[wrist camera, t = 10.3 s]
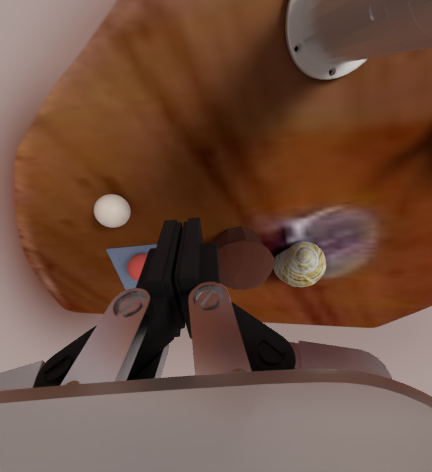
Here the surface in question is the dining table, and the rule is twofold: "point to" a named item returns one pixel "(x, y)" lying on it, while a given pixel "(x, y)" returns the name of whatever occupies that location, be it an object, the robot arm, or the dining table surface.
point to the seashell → (300, 264)
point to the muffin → (243, 259)
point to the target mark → (126, 261)
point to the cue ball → (112, 210)
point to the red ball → (136, 266)
